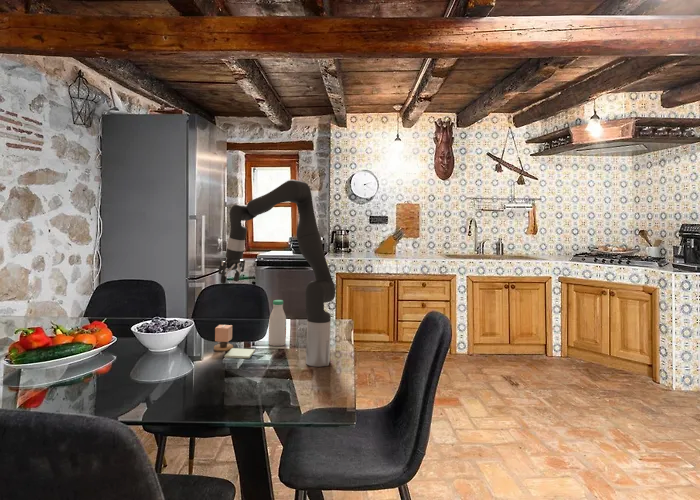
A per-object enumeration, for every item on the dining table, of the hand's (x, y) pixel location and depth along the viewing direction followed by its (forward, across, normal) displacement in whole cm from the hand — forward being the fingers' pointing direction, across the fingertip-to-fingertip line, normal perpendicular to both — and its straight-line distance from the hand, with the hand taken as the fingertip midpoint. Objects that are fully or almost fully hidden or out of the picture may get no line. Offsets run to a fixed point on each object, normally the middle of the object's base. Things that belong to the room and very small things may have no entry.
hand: (229, 282), depth 199 cm
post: (+24, -12, -13) cm, 30 cm away
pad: (+22, -14, -24) cm, 35 cm away
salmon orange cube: (+21, -12, -12) cm, 27 cm away
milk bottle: (+22, +6, -28) cm, 36 cm away
